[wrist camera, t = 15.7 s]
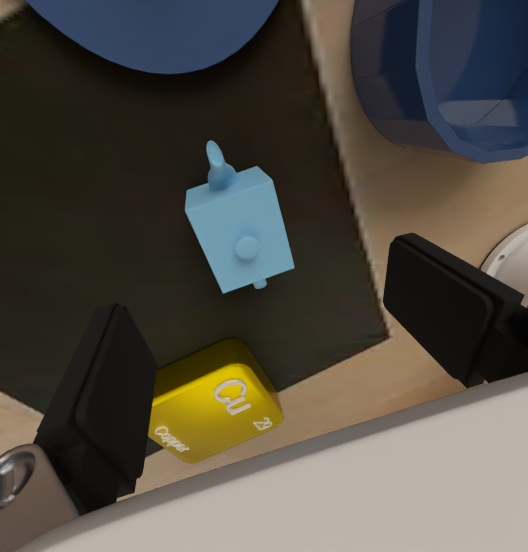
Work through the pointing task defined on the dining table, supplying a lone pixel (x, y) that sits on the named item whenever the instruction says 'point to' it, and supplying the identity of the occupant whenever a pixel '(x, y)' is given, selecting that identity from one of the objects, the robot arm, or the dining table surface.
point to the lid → (158, 30)
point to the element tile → (212, 402)
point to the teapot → (238, 224)
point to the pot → (445, 75)
